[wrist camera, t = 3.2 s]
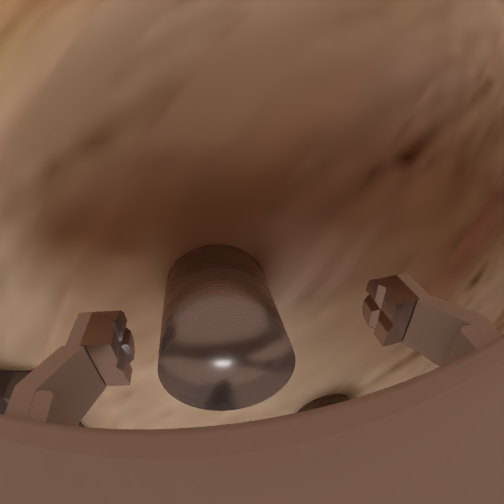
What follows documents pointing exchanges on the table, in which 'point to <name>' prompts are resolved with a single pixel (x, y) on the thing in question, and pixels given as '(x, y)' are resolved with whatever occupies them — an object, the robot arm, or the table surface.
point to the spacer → (221, 332)
